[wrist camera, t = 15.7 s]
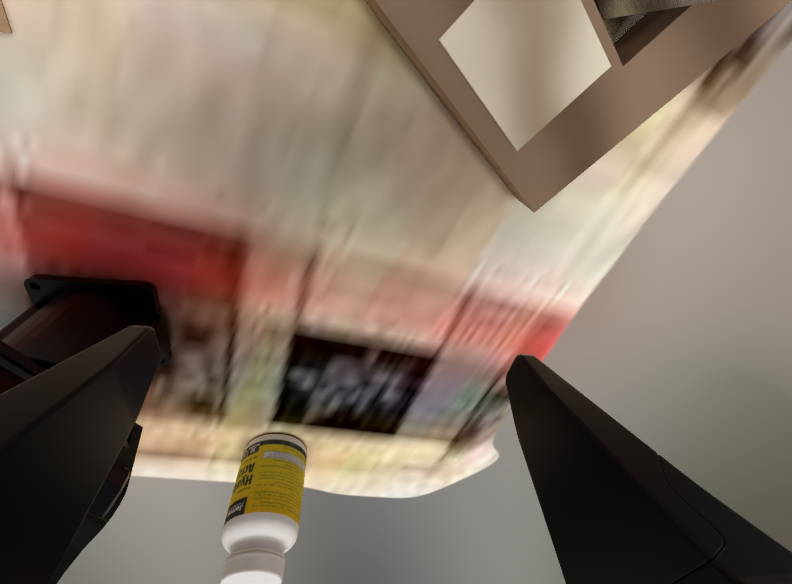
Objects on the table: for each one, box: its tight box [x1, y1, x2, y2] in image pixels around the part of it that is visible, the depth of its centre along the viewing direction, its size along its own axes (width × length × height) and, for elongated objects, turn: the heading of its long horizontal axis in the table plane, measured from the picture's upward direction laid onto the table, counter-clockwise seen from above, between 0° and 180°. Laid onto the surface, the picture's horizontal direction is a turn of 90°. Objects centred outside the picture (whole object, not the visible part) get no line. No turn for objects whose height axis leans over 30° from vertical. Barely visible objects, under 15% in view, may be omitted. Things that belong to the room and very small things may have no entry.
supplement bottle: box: [220, 434, 307, 584], centre depth 28 cm, size 5×5×10 cm
